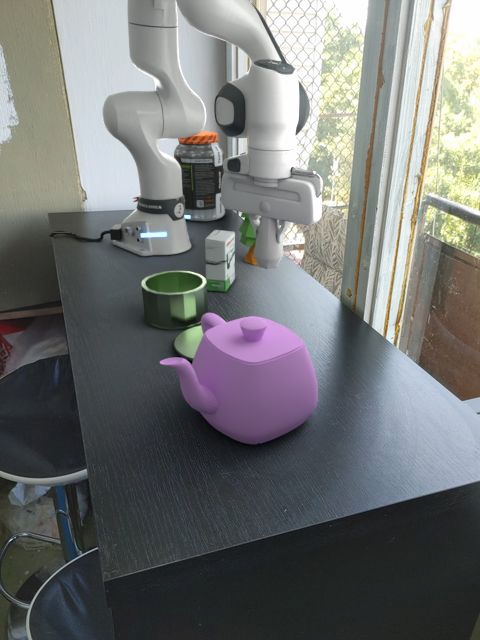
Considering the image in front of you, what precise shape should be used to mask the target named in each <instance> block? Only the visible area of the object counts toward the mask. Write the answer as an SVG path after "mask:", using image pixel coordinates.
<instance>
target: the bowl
mask: <svg viewBox="0 0 480 640" xmlns="http://www.w3.org/2000/svg"><path fill="white" fill-rule="evenodd" d="M141 294H142V295H141V296H142V305H143V314H144V320H145V322H146V324H148V325H149V326H151V327H152V328H156V329H159V330H164V331H183V330H188V329H190V328H193V327H197V326H201V318H202V316H203V315H204V314H206V313H209V304H208V303H209V301H208V290H207V281H206V276H203V275H202V274H200V273H198V272H193V271H189V270H165V271H160V272H155V273H153V274H150V275H148V276H145V278H143V279H142V281H141Z"/></svg>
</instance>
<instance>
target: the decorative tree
mask: <svg viewBox="0 0 480 640" xmlns="http://www.w3.org/2000/svg"><path fill="white" fill-rule="evenodd" d="M240 218H244V219H243V221H242V223H241V225H240V227H239V229H238V231H239V232H240V233H241V236H240V238H239V243H241V244H242V245H244V246H245V247H249V249H248V250H247V253H246V254H245V257H244V259H243V262H246V263H247V264H251V265H253V266H255V265H256V266H259V265H258V263H257V261H256V259H255V257H254V249H255V244H256V240H257V238H255V237H254V229H253V226H252V224H251V222H250V220H249V214H248V213H243V212H241V215H240ZM259 221H260V218H259Z"/></svg>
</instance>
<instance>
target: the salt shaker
mask: <svg viewBox="0 0 480 640" xmlns="http://www.w3.org/2000/svg"><path fill="white" fill-rule="evenodd" d="M260 211H261V212H265V213H269V212H270V204H269V203H268V202H266V201H262V202H260ZM278 223H279V220H278V219H273V218H268V217H263V216H261V218H260V224H259V230H258V235H257V240H256V244H255V249H254V257H255V259H256V261H257V263H258V265H257V266H258V267H259V268H262V269H266V270H269V269H271V270H272V269H277V267H278V266H279V265H280V263H281V261H282V259H283V257H284V254H285V252H284V245H283V242H282V243H278V242H277V241H276V236H275V233H277V232H278V231H279V229H280V227H281V226H280V225H278Z"/></svg>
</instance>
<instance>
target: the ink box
mask: <svg viewBox="0 0 480 640" xmlns="http://www.w3.org/2000/svg"><path fill="white" fill-rule="evenodd" d="M235 252H236V232H235V231H231V230H230V231H229V230H222V229H221V230H220V229H214V230H213V231H212V232H210V233H209V234H208V235H207V236H206V237H205V239H204V256H205V259H204V261H205V278H206V281H207V291H212V292H213V291H214V292H225V293H226V292H227V291H228V289H230V286H231V285H232V284H233V283H234V281H235V279H236V277H235V276H236V274H235V273H236V272H235V270H236V269H235V268H236V264H235V263H236V261H235V260H236V259H235V258H236V255H235V254H236V253H235Z"/></svg>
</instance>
